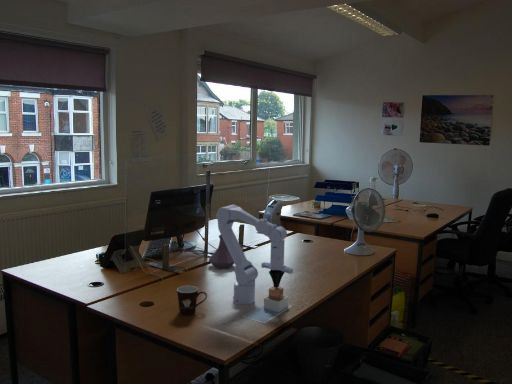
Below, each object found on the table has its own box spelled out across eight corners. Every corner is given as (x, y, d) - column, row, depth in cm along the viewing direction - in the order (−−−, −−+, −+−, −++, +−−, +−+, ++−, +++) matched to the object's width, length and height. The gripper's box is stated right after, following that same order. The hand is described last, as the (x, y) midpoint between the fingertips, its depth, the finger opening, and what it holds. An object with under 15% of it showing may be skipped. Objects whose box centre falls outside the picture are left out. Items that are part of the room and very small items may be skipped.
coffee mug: (173, 314, 190) (172, 291, 189) (183, 306, 198) (183, 284, 196) (198, 319, 186) (198, 295, 184) (207, 311, 194) (208, 288, 192)
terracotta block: (277, 302, 194) (277, 291, 193) (268, 300, 196) (268, 288, 195) (283, 299, 197) (283, 288, 196) (274, 296, 200) (274, 285, 199)
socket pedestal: (278, 312, 192) (279, 301, 192) (263, 308, 196) (264, 297, 196) (288, 306, 198) (288, 296, 198) (273, 302, 202) (273, 292, 202)
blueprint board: (264, 325, 181) (264, 323, 181) (241, 318, 187) (241, 316, 187) (292, 308, 199) (292, 306, 199) (270, 302, 205) (270, 300, 205)
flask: (213, 272, 245) (213, 235, 242) (204, 263, 260) (204, 229, 257) (242, 269, 251) (242, 233, 248) (231, 260, 266) (231, 226, 263)
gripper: (257, 254, 195) (257, 285, 197) (287, 261, 187) (286, 293, 189) (266, 251, 201) (266, 281, 203) (296, 257, 193) (294, 288, 194)
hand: (276, 286), depth 196 cm, fingers closed
